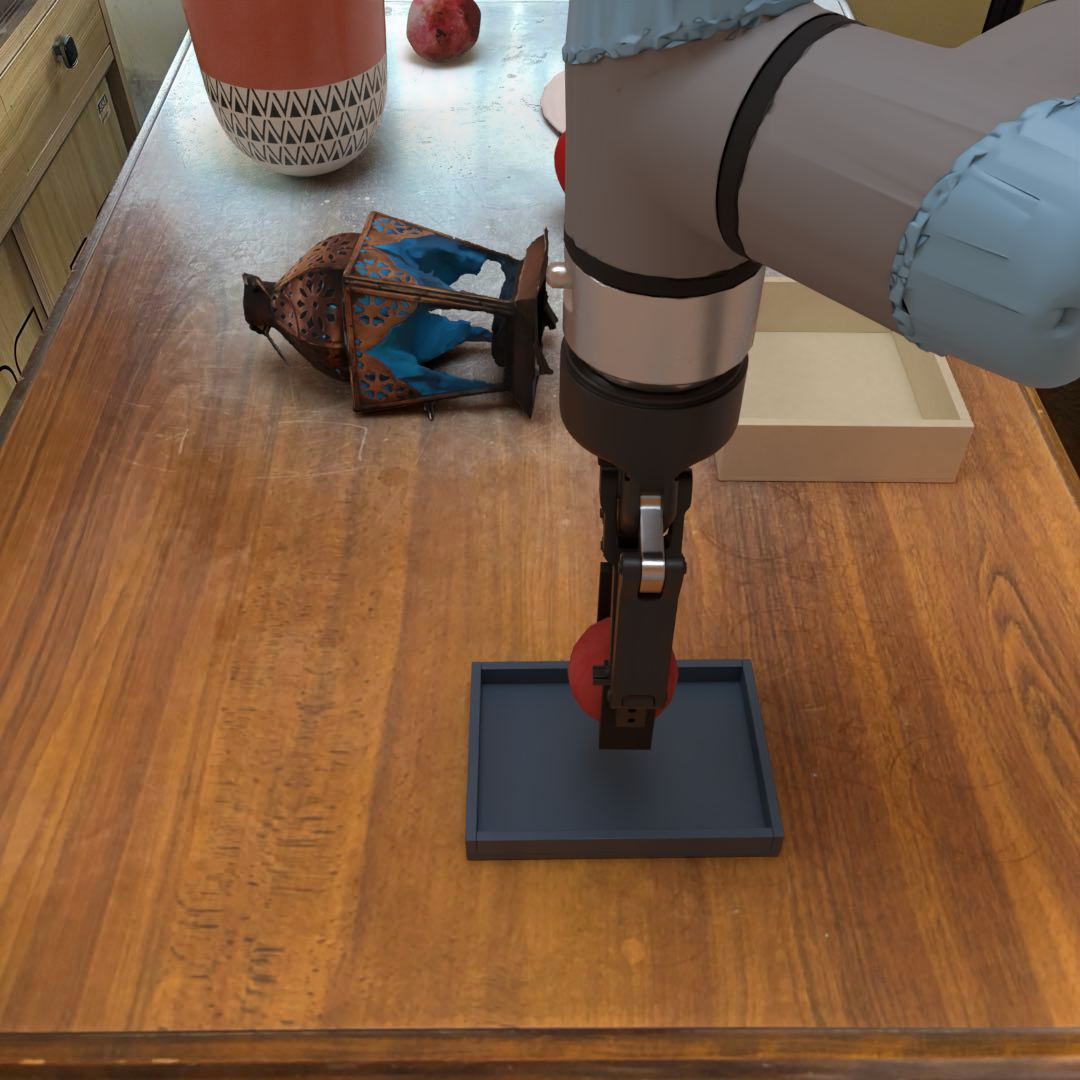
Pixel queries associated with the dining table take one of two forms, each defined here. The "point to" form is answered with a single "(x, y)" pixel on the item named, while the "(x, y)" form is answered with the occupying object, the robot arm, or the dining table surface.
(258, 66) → the planter
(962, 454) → the beige open rectangular box
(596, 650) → the onion
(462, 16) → the fruit
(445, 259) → the lantern
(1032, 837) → the dining table surface
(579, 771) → the tray
